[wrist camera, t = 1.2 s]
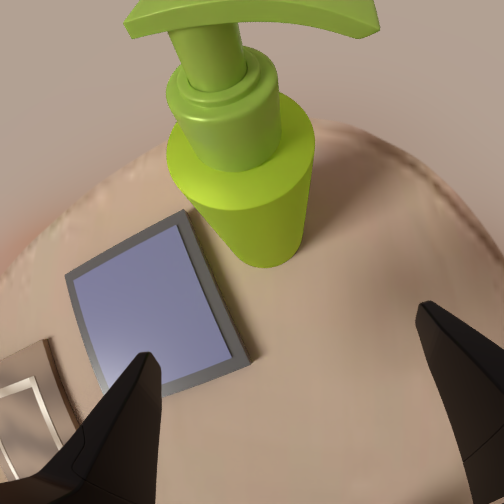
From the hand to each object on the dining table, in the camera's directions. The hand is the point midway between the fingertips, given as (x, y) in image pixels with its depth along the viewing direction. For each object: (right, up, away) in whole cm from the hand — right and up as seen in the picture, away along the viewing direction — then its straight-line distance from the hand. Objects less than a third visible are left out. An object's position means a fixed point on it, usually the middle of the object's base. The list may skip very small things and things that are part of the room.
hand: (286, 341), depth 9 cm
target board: (-26, -19, +13) cm, 35 cm away
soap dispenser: (0, +4, +15) cm, 15 cm away
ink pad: (-10, -2, +14) cm, 17 cm away
